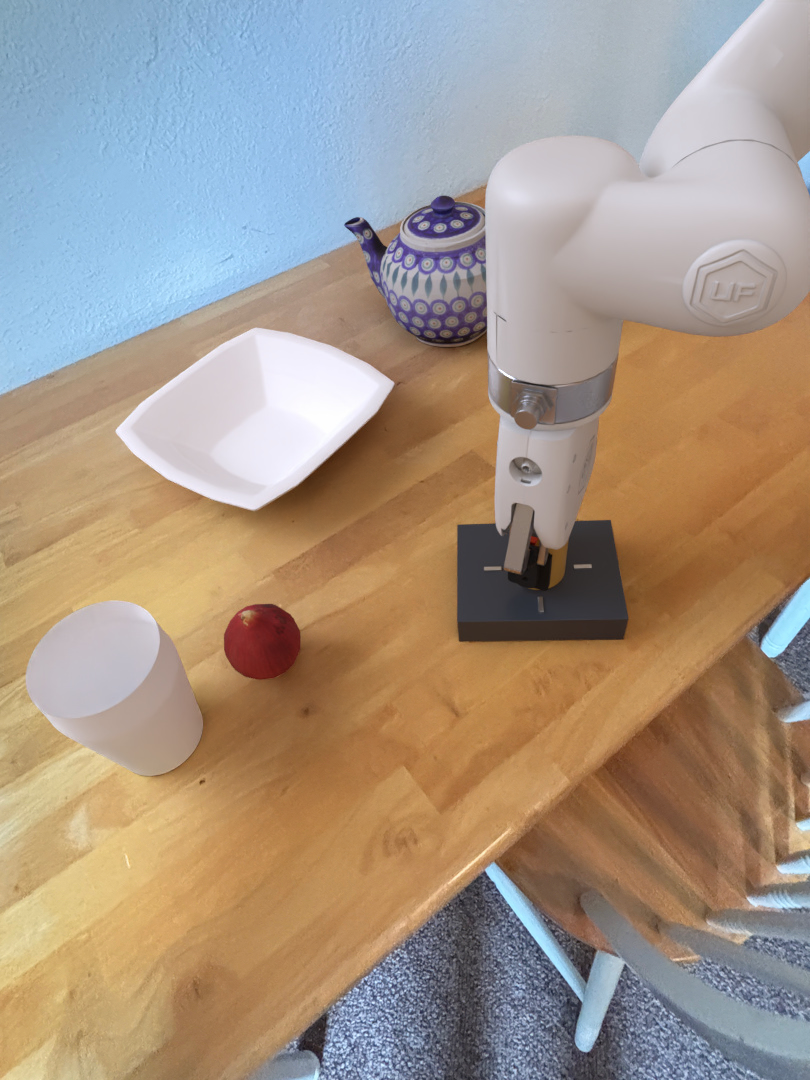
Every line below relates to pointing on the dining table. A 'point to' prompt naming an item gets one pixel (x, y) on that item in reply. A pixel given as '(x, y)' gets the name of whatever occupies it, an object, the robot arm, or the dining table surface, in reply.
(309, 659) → the dining table surface
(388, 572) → the dining table surface
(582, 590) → the panel
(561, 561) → the yellow dial knob
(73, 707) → the cup
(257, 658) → the onion
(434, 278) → the teapot
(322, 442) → the bowl
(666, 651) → the dining table surface
